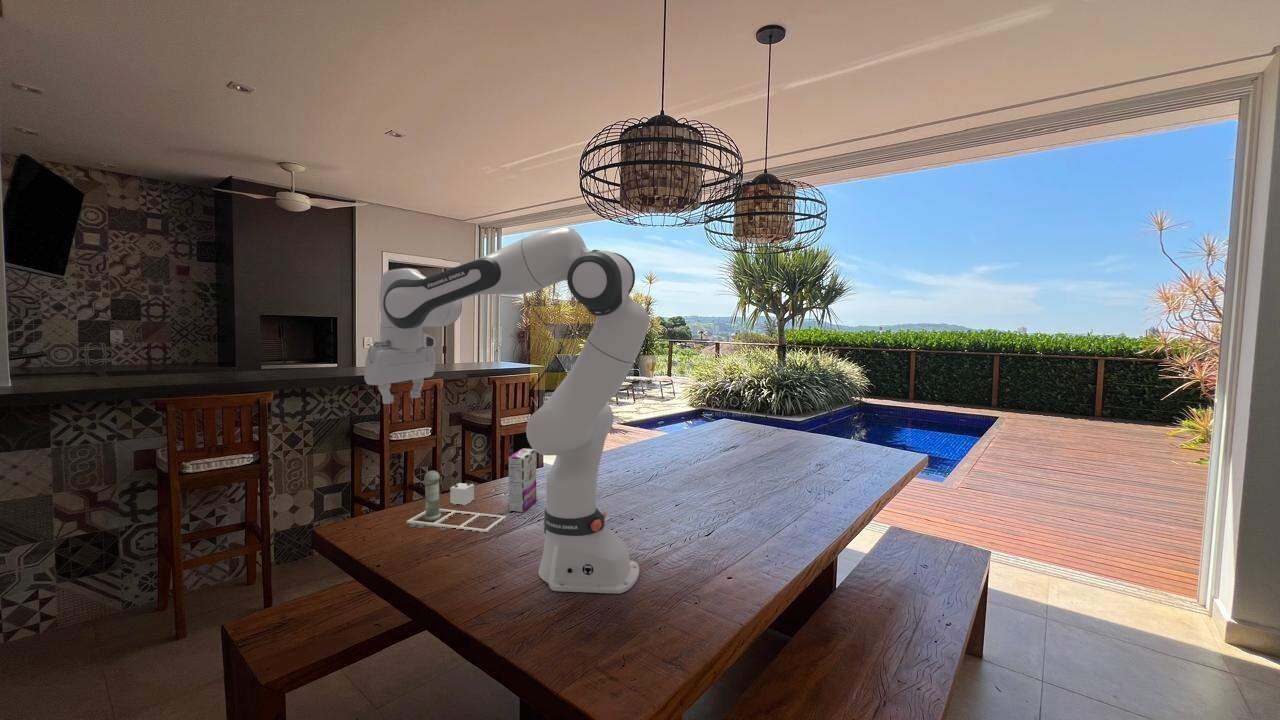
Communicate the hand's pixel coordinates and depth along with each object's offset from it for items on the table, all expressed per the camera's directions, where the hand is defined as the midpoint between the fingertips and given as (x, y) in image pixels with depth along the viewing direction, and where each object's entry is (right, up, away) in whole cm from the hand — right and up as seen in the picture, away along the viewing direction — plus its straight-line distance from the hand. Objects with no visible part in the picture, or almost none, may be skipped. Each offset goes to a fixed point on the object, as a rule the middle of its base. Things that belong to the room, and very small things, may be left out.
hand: (402, 400), depth 124 cm
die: (0, -34, +41) cm, 54 cm away
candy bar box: (+19, -35, +39) cm, 56 cm away
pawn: (-4, -35, +28) cm, 45 cm away
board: (+4, -35, +25) cm, 44 cm away
